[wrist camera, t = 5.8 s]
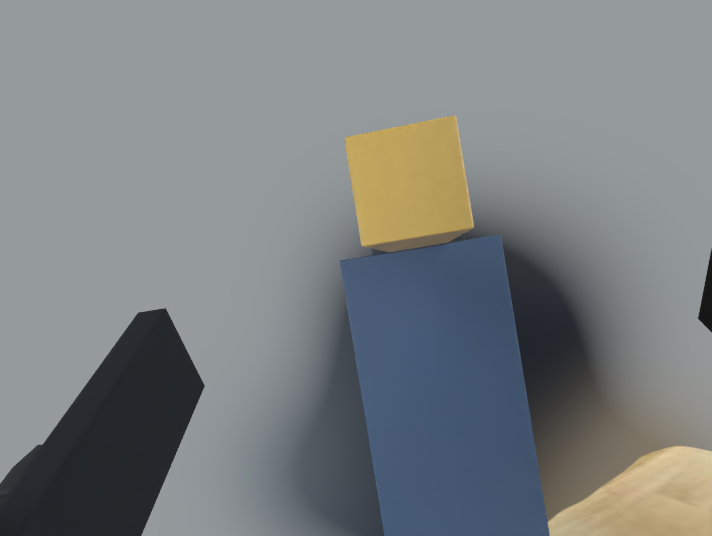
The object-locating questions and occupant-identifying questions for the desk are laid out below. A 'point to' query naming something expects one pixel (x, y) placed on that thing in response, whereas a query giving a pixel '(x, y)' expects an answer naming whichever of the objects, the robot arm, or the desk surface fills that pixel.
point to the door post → (444, 391)
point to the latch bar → (409, 185)
